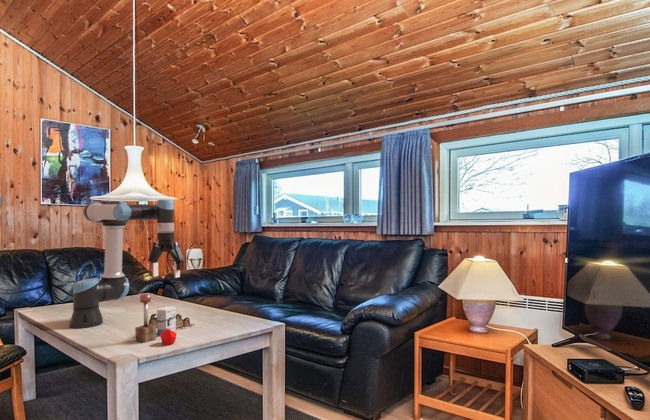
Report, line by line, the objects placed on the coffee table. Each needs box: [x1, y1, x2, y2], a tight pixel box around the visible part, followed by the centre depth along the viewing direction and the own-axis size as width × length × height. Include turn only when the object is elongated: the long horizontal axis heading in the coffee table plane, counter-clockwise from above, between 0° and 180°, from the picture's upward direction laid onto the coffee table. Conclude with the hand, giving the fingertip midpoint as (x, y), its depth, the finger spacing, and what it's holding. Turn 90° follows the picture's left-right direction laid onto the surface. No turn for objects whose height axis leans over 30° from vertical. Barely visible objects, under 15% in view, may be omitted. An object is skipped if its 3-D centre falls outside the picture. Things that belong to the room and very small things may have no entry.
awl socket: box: [134, 324, 157, 343], centre depth 184 cm, size 6×6×6 cm
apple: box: [159, 329, 178, 346], centre depth 179 cm, size 7×7×8 cm
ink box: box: [156, 305, 177, 336], centre depth 196 cm, size 8×5×12 cm, turn 167°
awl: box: [139, 293, 152, 327], centre depth 185 cm, size 4×4×15 cm
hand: (166, 277), depth 196 cm, fingers open, 13 cm apart
